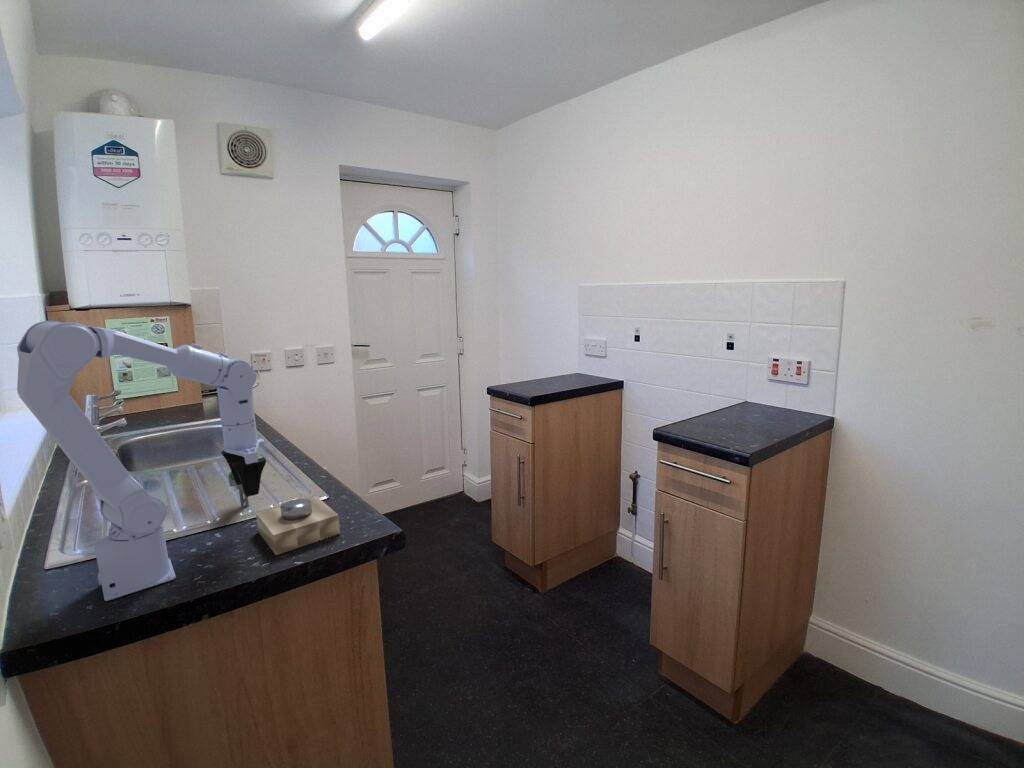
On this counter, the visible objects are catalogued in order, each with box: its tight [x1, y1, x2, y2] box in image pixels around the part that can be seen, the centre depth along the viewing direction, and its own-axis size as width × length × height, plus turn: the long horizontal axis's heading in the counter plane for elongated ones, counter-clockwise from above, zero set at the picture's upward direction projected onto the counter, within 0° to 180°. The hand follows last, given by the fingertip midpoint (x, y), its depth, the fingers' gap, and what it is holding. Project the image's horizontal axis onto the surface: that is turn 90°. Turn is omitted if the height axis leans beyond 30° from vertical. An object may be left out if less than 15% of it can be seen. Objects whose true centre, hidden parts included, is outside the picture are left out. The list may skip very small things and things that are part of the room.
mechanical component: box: [228, 471, 250, 509], centre depth 113 cm, size 3×10×10 cm, turn 15°
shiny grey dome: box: [279, 498, 312, 521], centre depth 100 cm, size 6×6×6 cm
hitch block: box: [255, 496, 341, 556], centre depth 100 cm, size 12×12×4 cm
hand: (247, 489), depth 99 cm, fingers open, 7 cm apart
